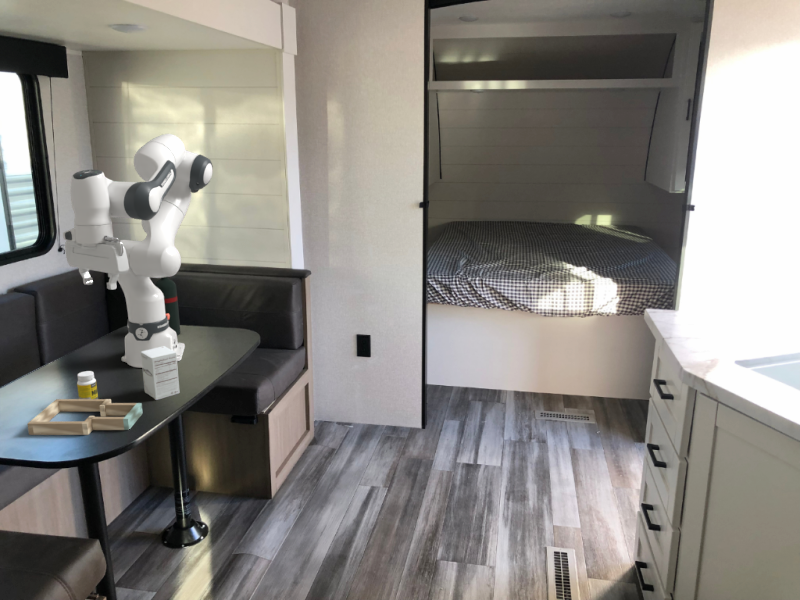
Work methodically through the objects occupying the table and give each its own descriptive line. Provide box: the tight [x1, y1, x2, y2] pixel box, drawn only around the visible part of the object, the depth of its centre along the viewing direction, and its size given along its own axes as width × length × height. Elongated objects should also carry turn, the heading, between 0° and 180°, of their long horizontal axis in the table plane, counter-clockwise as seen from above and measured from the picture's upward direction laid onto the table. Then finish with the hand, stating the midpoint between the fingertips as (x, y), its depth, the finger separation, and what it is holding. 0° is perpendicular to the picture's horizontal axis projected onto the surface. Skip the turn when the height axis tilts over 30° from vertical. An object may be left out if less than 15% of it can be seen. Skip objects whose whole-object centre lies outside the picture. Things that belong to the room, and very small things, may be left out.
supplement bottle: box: [76, 370, 99, 399], centre depth 175 cm, size 5×5×8 cm
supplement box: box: [141, 346, 181, 401], centre depth 180 cm, size 7×7×13 cm
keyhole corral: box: [27, 398, 143, 436], centre depth 164 cm, size 14×23×3 cm, turn 92°
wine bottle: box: [154, 277, 181, 336], centre depth 229 cm, size 8×10×30 cm
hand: (100, 286), depth 168 cm, fingers open, 8 cm apart
